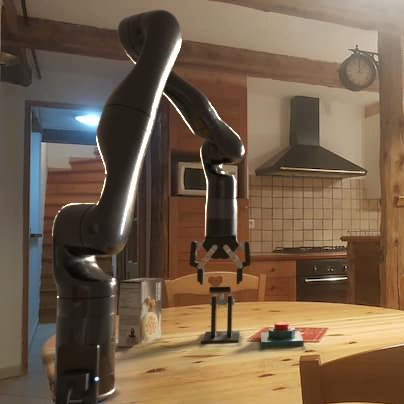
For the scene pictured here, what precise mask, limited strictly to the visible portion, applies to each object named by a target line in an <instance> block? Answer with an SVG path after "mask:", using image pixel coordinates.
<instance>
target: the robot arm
mask: <svg viewBox="0 0 404 404" xmlns="http://www.w3.org/2000/svg"><path fill="white" fill-rule="evenodd" d="M116 32H117V38H118V42H119V44H120V45H121V47H122V49H123V51H124V52H125V54H126V55H127V56H128V57H129V58H130V60H131V61H133V63H134V66H133V67H132V68H131V69H130V71H129V72H128V74H127V75H125V76H124V78H123V79H122V80H121V81H119V83H118V84H117V85H116V87H115V88H114V89H113V90H112V91H111V93H110V94H109V95H108V98H107V99H106V101H105V103H104V105H103V108H102V111H101V114H100V116H99V121H98V123H97V127H96V133H95V134H96V135H95V136H96V143H97V147H98V150H99V153H100V156H101V159H102V161H103V165H104V169H105V177H104V184H103V188H102V191H101V195H100V196H99V200H98V202H86V203H85V202H81V203H79V202H78V203H77V202H76V203H69V204H66V205H65V206H62V208H61V209H60V210H59V211H58V212H57V214H56V216H55V218H54V221H53V225H52V232H51V233H52V234H51V247H52V248H51V253H52V256H51V257H52V259H51V260H52V278H53V281H54V284H55V286H56V291H57V292H56V318H55V319H56V320H55V342H54V343H55V344H54V346H55V347H54V348H55V349H54V369H53V393H52V402H53V403H54V404H97V403H99V402H101V401H104V400H107V399H109V398H111V397H113V396H114V395H115V393H116V386H115V381H116V380H115V379H116V378H115V376H116V349H117V348H116V342H117V315H118V314H117V311H118V281H117V278H115V277H114V276H113V275H110V274H109V273H106V272H105V271H104V270H103V269H102V268H100V266H99V264H98V261H97V257H112V256H116V255H117V254H119V253H120V252H121V251H123V249H124V248H125V246H126V244H127V242H128V240H129V237H130V234H131V230H132V225H133V219H134V213H135V208H136V207H135V206H136V202H137V201H136V200H137V194H138V188H139V184H140V180H141V179H140V178H141V175H142V170H143V167H144V163H145V158H146V155H147V151H148V147H149V144H150V141H151V138H152V135H153V131H154V127H155V123H156V119H157V114H158V111H159V107H160V104H161V102H162V98H163V95H164V96H165V97H166V98H167V99H168V101H170V102H171V104H172V105H173V106H174V107H175V109H176V111H177V112H178V113H179V114H180V116H181V118H182V119H183V121H184V122H185V123H186V125H187V126H188V128H189V129H190V131H191V132H192V134H194V135H195V137H197V138H200V139H203V142H202V144H201V146H200V153H199V154H200V159H201V163H202V167H203V171H204V172H203V173H204V176H205V179H206V201H205V202H206V203H205V211H204V212H205V214H204V215H205V219H204V221H205V222H204V240H203V241H196V240H193V241H191V243H190V250H189V251H190V252H189V266H190V267H193V268H196V281H197V283H199V285H200V286H201V285H202V286H204V285H205V284H204V283H205V268H204V267H205V265H206V264H207V263H208V261H209V260H210V259H213V260H219V259H222V260H228V259H231V260H232V262H233V263H234V264H235V266H236V267H237V268H236V285H240V284H241V282H243V279H244V277H243V276H244V268H246V267H249V266H251V263H252V262H251V261H252V260H251V243H250V241H248V240H246V241H239V240H238V217H239V215H238V202H237V196H238V195H237V188H238V187H237V186H238V185H237V183H238V182H237V178H236V177H235V176H234V175H232V174H228V173H226V172H225V170H224V167H223V166H225V165H236V164H238V163H240V162H241V161H242V160H243V159H244V157H245V146H244V143H243V141H242V139H241V138H240V136H239V135H238V134H237V133H236V131H234V130H233V129H232V128H231V127H230V126H229V125H228V124H227V123H226V122H225V121H224V120H222V119H221V118H220V117H219V115H218V113H217V111H216V110H215V108H214V107H213V106H212V104H211V102H210V101H209V99H208V97H207V96H206V95H205V94H204V93H203V92H202V91H201V90H199V89H198V88H197V87H196V86H195V85H193V84H192V83H191V82H189V81H188V80H187V79H185V78H183V77H182V75H180V74H178V73H177V72H176V71H175V70H174V69H173V67H174V64H175V62H176V60H177V58H178V55H179V52H180V49H181V46H182V29H181V26H180V23H179V21H178V18H176V16H175V15H174V14H173V13H172V12H170V11H168V10H165V9H152V10H148V11H144V12H140V13H136V14H131V15H128V16H126V17H123V18H122V19H121V20H120V21H119V23H118V25H117V31H116ZM201 247H202V248H203V249H204V250H205V252H206V254H205V255H204V256H203V257H202V259H201V260H200V261H199V262H198V261H197V254H198V253H197V252H198V251H200V250H201ZM239 247H240V248H241V250H242V251H244V261H242V260H240V258H239V257H238V255H237V254H236V251H237V249H238V248H239Z"/></svg>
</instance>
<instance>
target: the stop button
mask: <svg viewBox="0 0 404 404" xmlns="http://www.w3.org/2000/svg"><path fill="white" fill-rule="evenodd" d="M273 327H274V330H278V331H284V330H289V327H290V323H289V322H286V321H279V322H278V321H277V322H275V323H274V325H273Z"/></svg>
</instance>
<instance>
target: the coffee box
mask: <svg viewBox="0 0 404 404" xmlns="http://www.w3.org/2000/svg"><path fill="white" fill-rule="evenodd" d="M118 287H119V288H118V333H117V334H118V335H117V346H118V347H123V348H133V347H134V346H136V345H141V344H144V343H145V344H146V343H148V342H151V341H153V340H156V339H160V338H162V313H163V312H162V309H163V308H162V307H163V306H162V305H163V303H162V302H163V277H138V278H132V279H131V278H130V279H126V280H125V279H124V280H120V281H119V282H118Z"/></svg>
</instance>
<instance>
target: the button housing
mask: <svg viewBox="0 0 404 404" xmlns="http://www.w3.org/2000/svg"><path fill="white" fill-rule="evenodd" d="M267 329H268V330H267V331H262V332H260V347H261V348H264V349H265V348H287V347H288V348H289V347H291V348H292V347H304V343H305V340H304V338H303V336H302V334H301V331H300V330H296V329H295V327H292V326H289V330H284V331H278V330H274V326H272V327H269V328H267Z"/></svg>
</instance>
